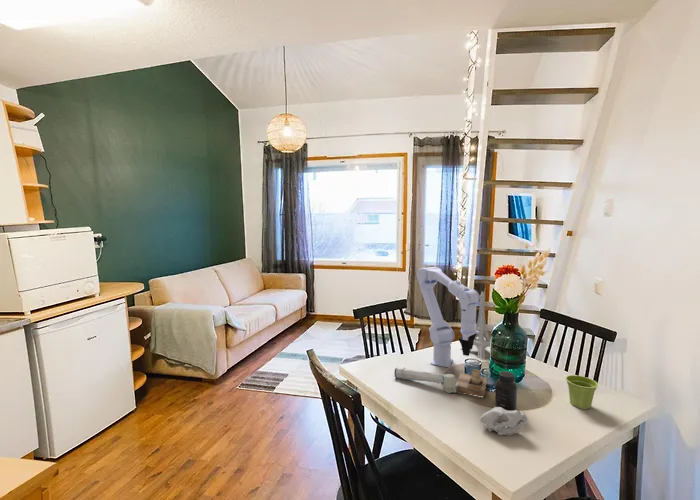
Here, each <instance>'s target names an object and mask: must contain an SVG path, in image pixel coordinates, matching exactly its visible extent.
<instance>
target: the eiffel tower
mask: <svg viewBox="0 0 700 500" xmlns="http://www.w3.org/2000/svg"><path fill="white" fill-rule="evenodd" d="M479 296H480V300H479V309H478V310H479V312H478V315H477V321H476V331H479V333H478V334H477V335H476V336H475V339H474V343H473V346H475V347H476V348H477V356H476V358H477V359H479V360H484V359H486V356H485V351H486V348H488V347H489V348H490V339H491V337H490V334H489V332H488V327H487V323H486V314H485V313H486V312H485V311H486V310H485V300H486V295H485V293H484V291H481V293H480V294H479ZM460 350H461V351H462V347H461V348H460Z"/></svg>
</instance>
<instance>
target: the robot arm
mask: <svg viewBox="0 0 700 500" xmlns="http://www.w3.org/2000/svg"><path fill="white" fill-rule="evenodd" d="M442 270H443V269H441V268H439V267H438V266H433V267H432V266H430V267H420V268H418V270H417V272H416V279H417V282H418V284H419V288H420V292H421V295H422V297H423V300H424V303H425V306H426V309H427V313H428V315H429V318H430V322H431V326H430V327H429V328H428V330H429V339H430V340H431V341H430V342H431V343H432V344H433V358H432V360H431V362H430V364H431V365H435V366H439V367H444V368H450V367H451V364H452V362H453V358H452V357H451V355H452V354H451V353H452V352H451V351H452V346H451V345H452V342H453V341H454V340H455V332H454V330H453V329H452V327H451V325H450V324H449V323H448V322H446V321H445V320H444V317H443V315H442V311H441V308H440V306H439V303H438V301H437V297H436V294H435V292H434V289H433V288H434V287H435V286H436V284H437V283H438V282H439V283H440V284H442V285H443V286H445V287H446V288H447V290H448V292H449V293H450V294H452V295H453V296H454V297H456V298H457V299H458V301H459V304H460V306H459V307H460V310H461V315H460V317H461V320H460V322H461V323H460V334H461V335H462V336H459V337H458V341H459V343H460V345H461V348H462V350H461V351H462V355H463V356H467V357H469V356H470V353H471V351H472V349H473V346H474V345H473V343H474V339H475V336H476V335H477V334H479V331H476V327H477V304H478V303H480V294H479V292H478V291H477V290H476V289H470V288H469V287H468V286H466V285H464V284H462V283H461V281H460V280H452V279H451V278H450V277H449V276H447V274H445V273H444V272H443V271H442Z"/></svg>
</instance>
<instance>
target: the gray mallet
mask: <svg viewBox="0 0 700 500" xmlns="http://www.w3.org/2000/svg"><path fill="white" fill-rule="evenodd" d="M394 377H395V378H396V379H402V380H403V381H405V380H410V381H411V380H412V381H420V382H429V383H437V384H441V386H442V390H443V392H446V393H447V394H451V393H458V386H459V383H458V382H457V381H456V380H457V379H456V377H455V375H454V374H452V373H446V374H445V373H444V374H441V373H439V374H438V373H434V372H427V371H422V370H415V369H410V368H409V369H408V368H405V367H403V368H401V367H400V368H399V367H396V368H395V369H394Z"/></svg>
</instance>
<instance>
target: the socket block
mask: <svg viewBox="0 0 700 500" xmlns="http://www.w3.org/2000/svg"><path fill="white" fill-rule="evenodd" d="M456 382H458V383H459V386H458V392H460V393H459V394H463V393H466V394H465V395H467V394H472V395H477V396H483V397H484V398H485V394H486V391H485V388H486V389H487V387H486V382H487V383H488V377H483V376H481V380H480V385H481V384H482V386H477V385H472V383H471V374H469V373H463V372H460V374H459V377H458V379H457V381H456ZM458 392H457V393H458ZM484 393H485V394H484Z"/></svg>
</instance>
